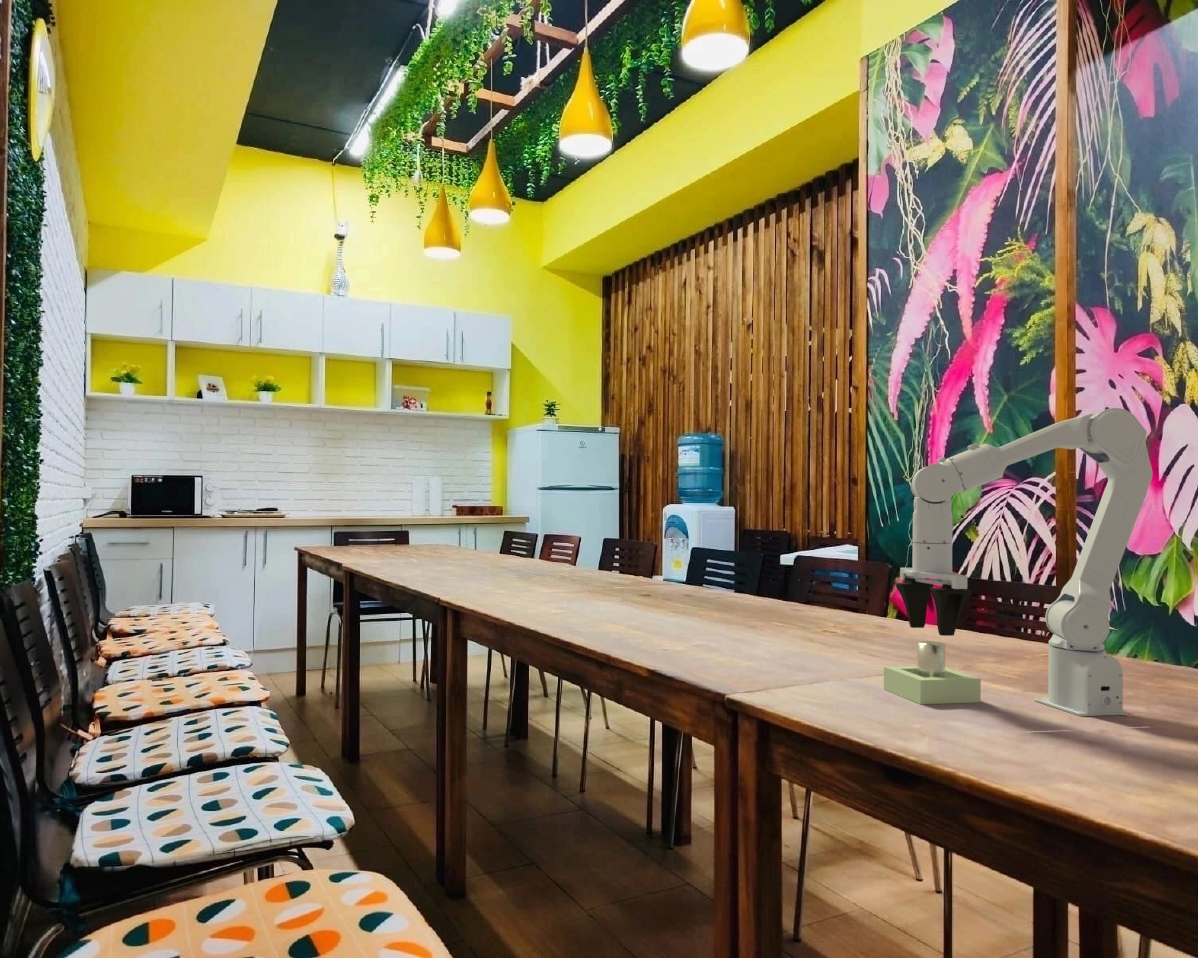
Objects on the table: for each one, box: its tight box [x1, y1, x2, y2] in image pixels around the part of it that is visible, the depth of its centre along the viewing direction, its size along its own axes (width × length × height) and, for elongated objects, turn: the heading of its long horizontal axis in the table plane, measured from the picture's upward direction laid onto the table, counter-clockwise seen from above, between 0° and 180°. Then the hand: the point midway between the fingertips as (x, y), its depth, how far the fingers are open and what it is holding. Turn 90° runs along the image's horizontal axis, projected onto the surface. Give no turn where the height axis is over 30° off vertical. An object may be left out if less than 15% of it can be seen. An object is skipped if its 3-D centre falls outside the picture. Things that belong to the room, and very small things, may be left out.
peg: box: [916, 640, 946, 678], centre depth 130 cm, size 4×4×8 cm
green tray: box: [883, 665, 982, 705], centre depth 130 cm, size 10×10×4 cm
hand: (931, 631), depth 130 cm, fingers open, 7 cm apart
